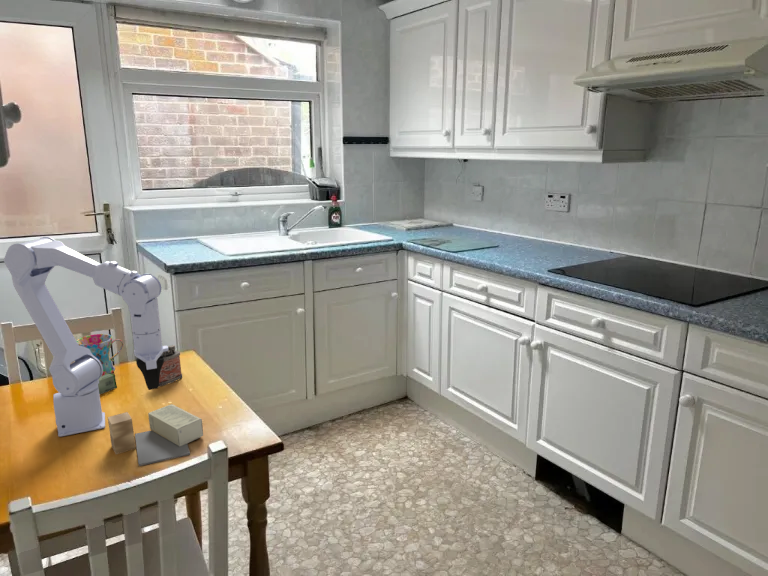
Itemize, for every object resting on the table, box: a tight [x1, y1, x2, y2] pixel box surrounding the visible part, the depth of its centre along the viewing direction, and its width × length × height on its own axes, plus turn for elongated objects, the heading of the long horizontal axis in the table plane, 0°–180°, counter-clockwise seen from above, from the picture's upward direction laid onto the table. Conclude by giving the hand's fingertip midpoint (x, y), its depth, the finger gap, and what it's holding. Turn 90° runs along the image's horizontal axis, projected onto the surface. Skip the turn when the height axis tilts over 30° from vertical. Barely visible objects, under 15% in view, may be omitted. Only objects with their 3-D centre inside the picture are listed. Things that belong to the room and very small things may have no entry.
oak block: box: [107, 411, 137, 455], centre depth 122 cm, size 4×4×7 cm
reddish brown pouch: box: [159, 344, 183, 387], centre depth 156 cm, size 8×3×10 cm, turn 144°
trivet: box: [134, 430, 191, 467], centre depth 124 cm, size 10×14×1 cm
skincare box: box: [147, 404, 204, 446], centre depth 128 cm, size 6×4×12 cm
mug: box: [75, 333, 124, 376], centre depth 162 cm, size 12×9×11 cm
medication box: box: [98, 373, 118, 396], centre depth 149 cm, size 12×3×4 cm, turn 147°
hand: (153, 388), depth 128 cm, fingers closed
